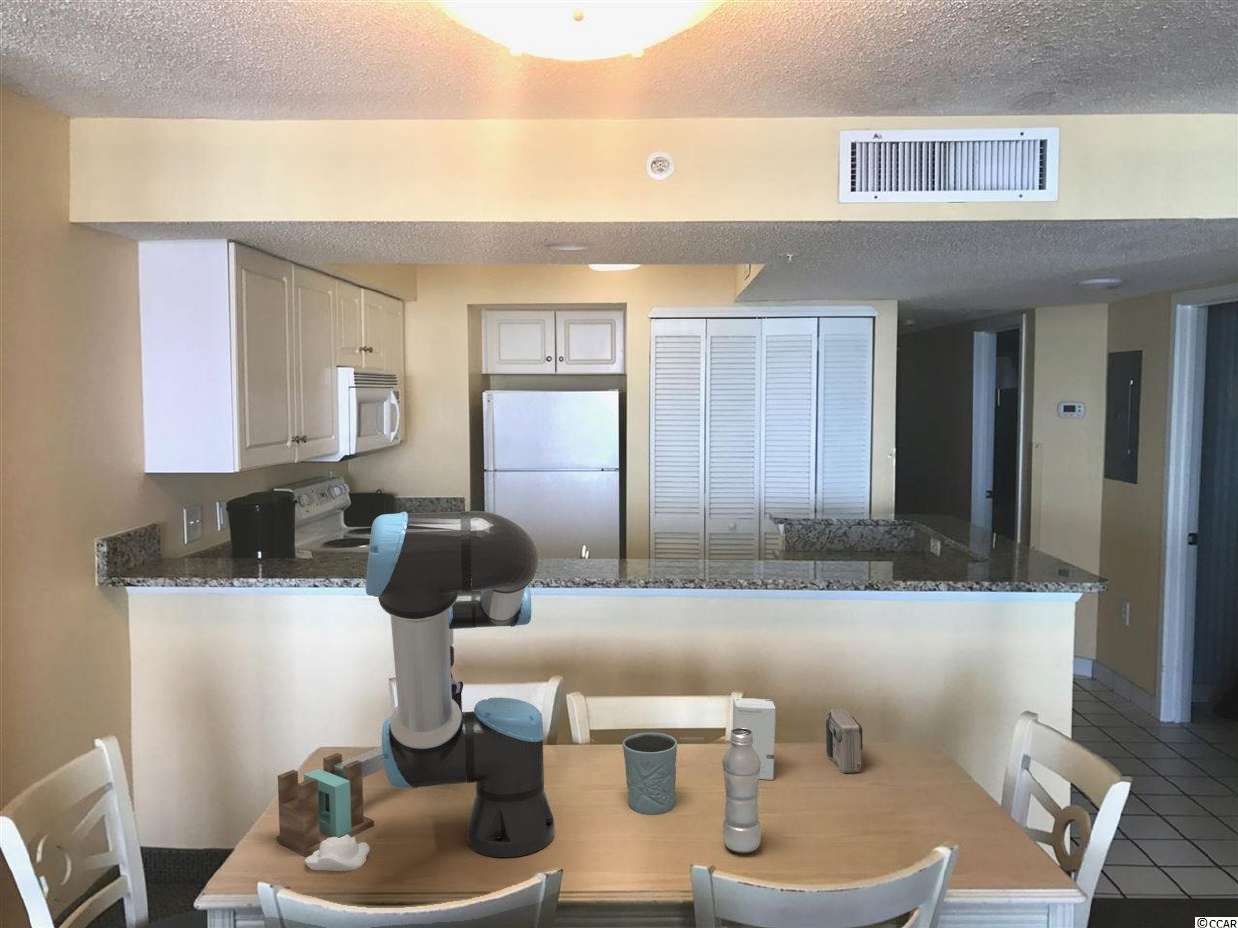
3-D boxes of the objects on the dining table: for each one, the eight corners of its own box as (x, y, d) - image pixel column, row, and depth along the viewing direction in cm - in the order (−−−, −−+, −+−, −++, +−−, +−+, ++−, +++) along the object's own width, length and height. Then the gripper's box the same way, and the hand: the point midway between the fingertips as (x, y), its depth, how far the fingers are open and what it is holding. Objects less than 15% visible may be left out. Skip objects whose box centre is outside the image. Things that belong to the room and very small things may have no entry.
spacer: (336, 838, 148) (335, 786, 148) (305, 823, 154) (303, 774, 153) (351, 831, 151) (349, 780, 150) (320, 817, 156) (318, 768, 156)
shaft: (348, 792, 153) (347, 764, 152) (331, 785, 156) (330, 757, 155) (454, 746, 173) (453, 722, 172) (436, 741, 176) (436, 717, 175)
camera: (823, 752, 186) (824, 707, 185) (850, 752, 186) (851, 706, 185) (836, 775, 175) (837, 726, 174) (865, 774, 175) (865, 726, 174)
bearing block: (307, 857, 144) (305, 787, 143) (276, 842, 149) (274, 774, 148) (374, 825, 155) (372, 760, 154) (342, 812, 160) (341, 748, 159)
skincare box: (733, 779, 173) (733, 706, 172) (731, 767, 179) (731, 696, 178) (775, 780, 172) (776, 707, 171) (772, 767, 178) (772, 697, 177)
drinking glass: (679, 816, 157) (679, 751, 157) (623, 817, 157) (623, 752, 157) (675, 791, 168) (675, 731, 167) (623, 792, 168) (622, 731, 167)
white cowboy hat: (315, 857, 136) (297, 833, 144) (316, 885, 136) (297, 859, 144) (377, 838, 142) (356, 816, 150) (377, 864, 142) (357, 841, 150)
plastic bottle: (732, 860, 142) (732, 741, 141) (716, 841, 148) (715, 726, 147) (768, 854, 144) (768, 736, 142) (750, 835, 150) (750, 722, 149)
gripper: (480, 649, 169) (482, 766, 170) (418, 635, 179) (420, 745, 181) (452, 658, 163) (454, 779, 164) (389, 643, 173) (392, 757, 175)
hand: (436, 761), depth 172 cm, fingers closed on shaft, 5 cm apart
